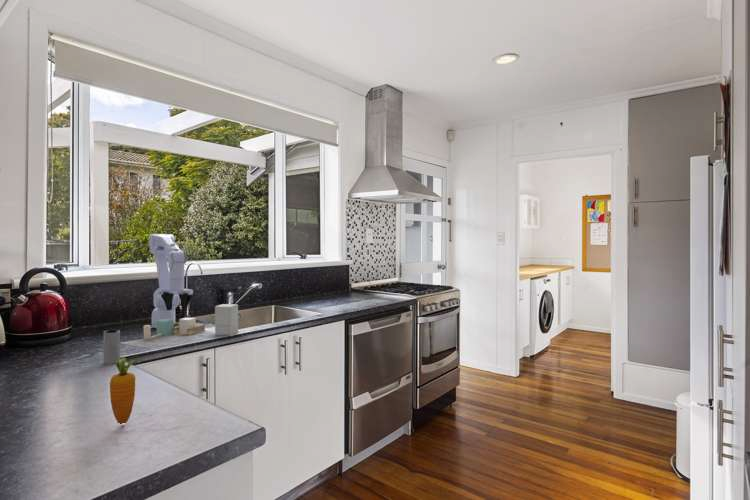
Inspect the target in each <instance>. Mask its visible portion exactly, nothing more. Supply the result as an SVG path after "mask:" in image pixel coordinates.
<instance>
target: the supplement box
mask: <svg viewBox="0 0 750 500" xmlns="http://www.w3.org/2000/svg"><path fill="white" fill-rule="evenodd" d="M238 333H239V304H236V303H235V304H234V303H233V304H232V303H225V304H224V303H222V304H218V305H216V306H214V335H215V336H229V337H233V336H235V335H237V334H238Z"/></svg>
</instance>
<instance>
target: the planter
mask: <svg viewBox="0 0 750 500" xmlns="http://www.w3.org/2000/svg"><path fill="white" fill-rule="evenodd" d="M117 361H119V362H120V363H121V330H119V329H110V330H105V331H103V364H104V365H106V364H110V365H115V364H114V363H116V362H117Z"/></svg>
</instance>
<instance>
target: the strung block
mask: <svg viewBox="0 0 750 500" xmlns="http://www.w3.org/2000/svg"><path fill="white" fill-rule="evenodd" d="M156 327H157V328H156V334H154V335H152V333H151V329H152V328H151V325H150V324H145V325H143V340H144V341H149V340H151V339H155V338H159V337H167V336H170V335H174V334H173V328H174V327H173V319H162V320H158V321H156ZM151 335H152V336H151Z"/></svg>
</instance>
